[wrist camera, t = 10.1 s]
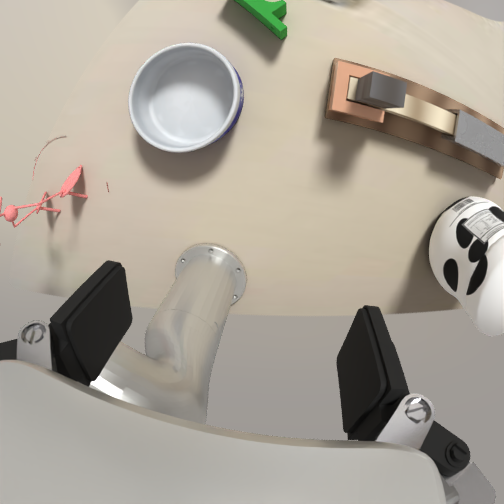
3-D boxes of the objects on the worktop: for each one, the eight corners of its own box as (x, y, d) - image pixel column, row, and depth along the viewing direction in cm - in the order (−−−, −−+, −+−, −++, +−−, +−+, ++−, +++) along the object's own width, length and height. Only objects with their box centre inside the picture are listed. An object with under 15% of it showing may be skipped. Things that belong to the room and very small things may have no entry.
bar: (463, 123, 29) (501, 129, 21) (461, 140, 31) (497, 150, 22) (345, 79, 30) (363, 68, 22) (342, 99, 32) (360, 94, 23)
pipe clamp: (300, 27, 29) (302, 16, 25) (281, 40, 30) (280, 31, 26) (248, -17, 26) (243, -30, 22) (229, -4, 27) (222, -15, 23)
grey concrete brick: (505, 141, 29) (520, 145, 25) (500, 166, 31) (515, 172, 27) (445, 108, 29) (460, 109, 26) (440, 137, 32) (455, 141, 28)
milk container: (464, 288, 44) (505, 348, 28) (405, 262, 43) (448, 331, 27) (504, 215, 36) (562, 259, 20) (450, 173, 35) (520, 211, 19)
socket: (382, 77, 29) (389, 75, 27) (375, 122, 33) (382, 122, 30) (334, 65, 30) (338, 60, 27) (328, 110, 33) (331, 109, 30)
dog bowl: (258, 129, 37) (253, 131, 32) (164, 161, 41) (146, 168, 35) (227, 37, 31) (218, 25, 25) (136, 76, 34) (116, 73, 29)
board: (505, 131, 29) (510, 132, 28) (496, 177, 33) (501, 179, 32) (333, 59, 31) (334, 57, 29) (325, 117, 35) (326, 117, 33)
